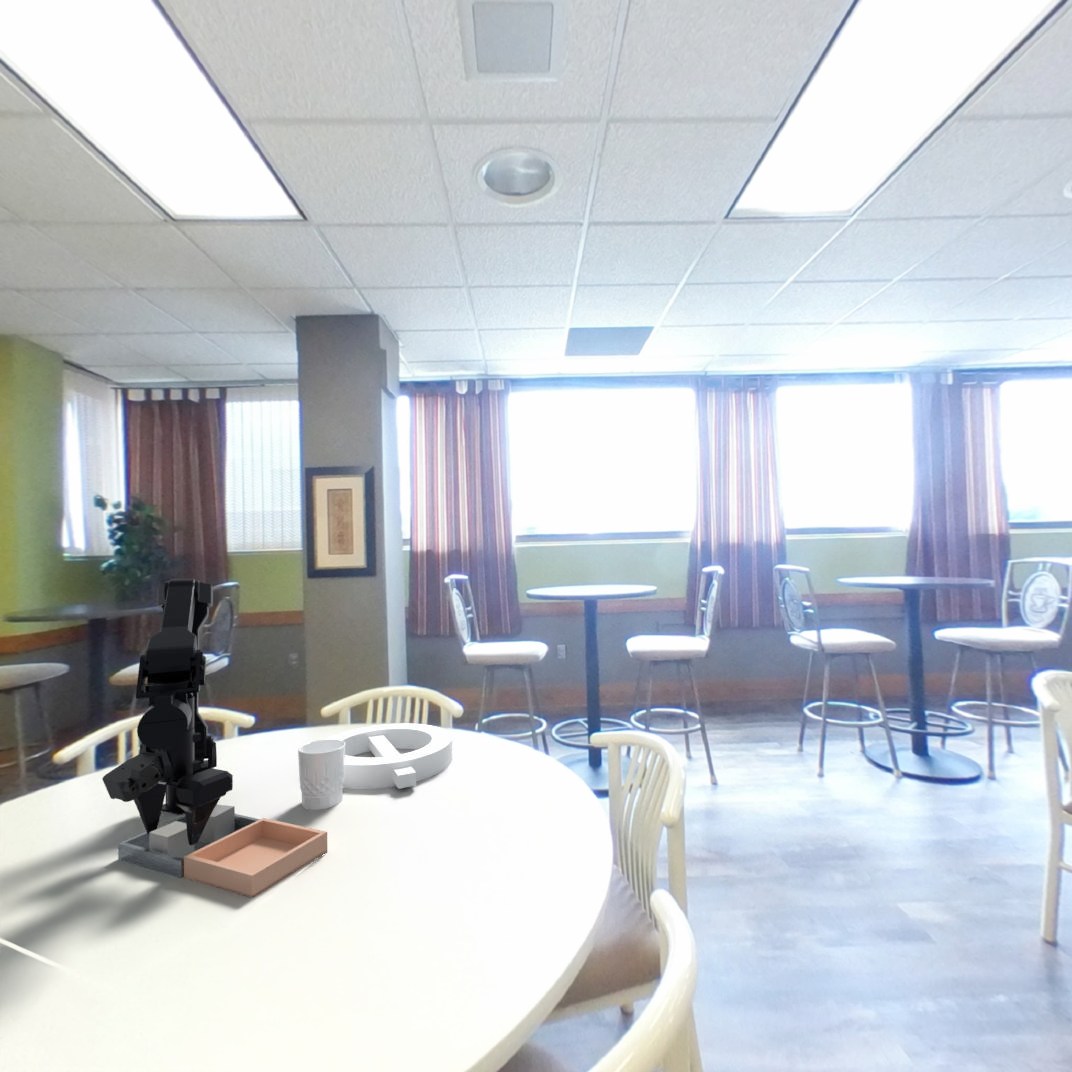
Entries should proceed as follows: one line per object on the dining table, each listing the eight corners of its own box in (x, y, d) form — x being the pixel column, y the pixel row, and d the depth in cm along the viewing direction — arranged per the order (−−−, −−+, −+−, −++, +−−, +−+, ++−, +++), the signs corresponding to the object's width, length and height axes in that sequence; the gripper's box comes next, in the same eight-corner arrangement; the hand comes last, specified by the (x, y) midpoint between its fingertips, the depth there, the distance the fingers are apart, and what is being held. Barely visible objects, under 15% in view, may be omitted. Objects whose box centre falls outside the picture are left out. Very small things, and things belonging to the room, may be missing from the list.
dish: (183, 879, 81) (183, 856, 81) (263, 837, 93) (263, 817, 93) (252, 899, 76) (252, 875, 76) (327, 852, 87) (327, 831, 88)
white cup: (330, 814, 101) (330, 754, 101) (289, 811, 102) (288, 752, 103) (354, 795, 109) (353, 740, 109) (314, 793, 110) (314, 738, 110)
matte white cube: (149, 860, 86) (149, 832, 86) (176, 848, 89) (176, 820, 89) (167, 866, 84) (167, 837, 84) (194, 853, 88) (194, 825, 88)
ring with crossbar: (366, 740, 143) (366, 720, 144) (473, 749, 135) (473, 727, 135) (283, 782, 117) (283, 758, 117) (410, 797, 108) (409, 770, 108)
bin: (118, 861, 86) (118, 843, 86) (204, 822, 99) (204, 806, 99) (180, 880, 81) (180, 861, 81) (264, 836, 93) (263, 820, 93)
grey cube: (193, 841, 92) (193, 814, 92) (214, 829, 95) (214, 803, 95) (214, 843, 90) (214, 817, 91) (234, 832, 94) (234, 806, 94)
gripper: (72, 739, 84) (72, 852, 83) (159, 754, 76) (159, 879, 76) (151, 719, 94) (151, 819, 93) (235, 730, 86) (235, 840, 86)
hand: (172, 838), depth 87 cm, fingers open, 9 cm apart
